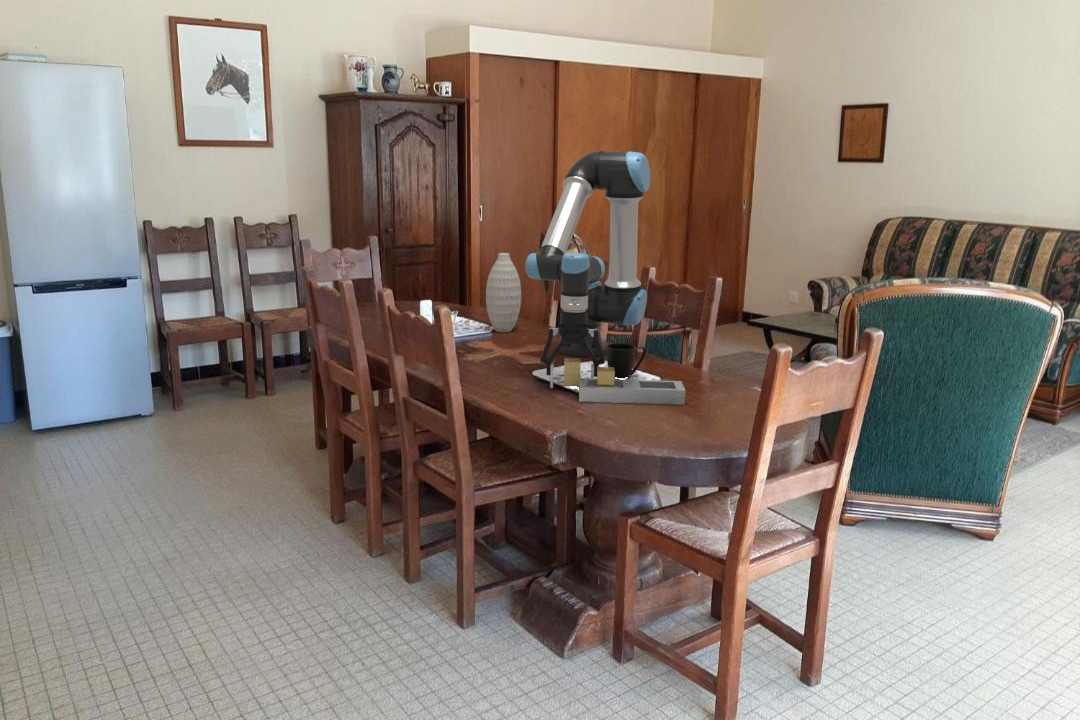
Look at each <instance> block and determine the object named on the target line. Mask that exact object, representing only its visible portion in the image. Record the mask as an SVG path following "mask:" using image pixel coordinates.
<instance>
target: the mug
mask: <svg viewBox="0 0 1080 720" xmlns="http://www.w3.org/2000/svg"><path fill="white" fill-rule="evenodd" d="M639 350H642V354H641V356H640V358H639V360H638V361H637V363H636V365H635V366H634V364H635V358H636V357H635V356H636V351H639ZM646 354H647V348H646V347H644V346H635V345H632V344H630V343H626V342H625V343H622V342H617V343H616V342H614V343H610V344H609V343H608V344H607V346H606V362H607V363H606V364H607V367H613V368H614V370H615V377H617V378H625V377H629V376H630V377H631V376H632V375H634V374H635V372H636V371H637V370H638V368H639V366H640V365H641V364H642V363H643V360H644V358H645V357H646ZM630 377H629V378H630Z"/></svg>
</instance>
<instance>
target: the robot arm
mask: <svg viewBox="0 0 1080 720" xmlns="http://www.w3.org/2000/svg"><path fill="white" fill-rule="evenodd" d="M650 185H651V169H650V164H649V161H648V159H647V157H646V155H645V154H643V153H642V152H635V151H603V150H597V151H592V152H588V153H586V154H585V155H583V156H582V157H581V158H580V159H578V160H577V161H576V162H574V164H573V165H572V166H571V167H570V169H568V171H567V173H566V174H565V177H564V180H563V181H562V188H563V190H562V194H561V196H560V199H559V201H558V204H557V206H556V209H555V211H554V214H553V216H552V219H551V221H550V224H549V226H548V229H547V231H546V234H545V236H544V239H543V241H542V245H541V247H540V249H539V251H538V252H535V253H533V252H531V253H529V255H528V256H527V258H526V260H525V266H524V267H525V273H526V275H527V277H528V278H529V279H533V280H536V281H537V280H538V281H550V282H551V281H552V282H553V281H554V282H560V285H561V287H560V289H561V290H560V308H561V310H560V315H559V316H560V317H559V318H560V319H559V327H558V328H557V327H552V326H550V327H549V328H548V337H547V340H546V342H545V345H544V347H543V349H542V353H541V355H540V363H544V364H545V365H546V373H545V374H546V376H550V381H549V382H550V383H549V384H550V385H549V388H550V389H553V388H554V368H555V367H554V366H555V365H554V362H553V361H554V359H555V358H556V357H557V355H558V354H559V353H560V354H563V355H565V356H566V355H568V356H573V357H574V356H575V357H588V358H589V359H590V360H591V362H592V363H590V379H595V378H597V367H600V365H604V364H605V362H606V360H605V356H604V350H605V347H604V346H605V345H604V342H603V338H602V334H601V331H600V323H606V324H612V325H614V324H615V325H622V326H637V325H639V323H640V322H641V321H642V319H643V317H644V315H645V312H646V308H647V304H648V303H647V302H648V294H647V291H646V290H645V289H643V288H642V282H641V281H640V280H639V279H638V277H637V274H638V273H637V271H638V234H639V233H638V227H639V226H638V225H639V203H640V201H642V199H643V198H644V193H645V192H648V191H649V189H650ZM597 190H599V191H605V198H606V200H608V201H609V204H610V205H609V206H610V207H609V208H610V214H609V216H610V217H609V220H610V222H609V223H610V224H609V228H610V230H609V278H607V280H606V281H605V282H604V286H602V282H601V281H600V280H601V279H602V278H603V277H604V275H605V271H606V267H605V264H604V261H603V260H602V259H601V258H600V257H598V256H597V255H588V254H587V253H583V252H582V253H581V252H571V253H568V252H567V251H568V248H569V245H570V243H571V241H572V238H573V235H574V233H575V231H576V227H577V225H578V222H579V220H580V217H581V214H582V211H583V210H584V207H585V204H586V202H587V199H590V197H592V195H593V193H594V191H597ZM557 334H559V335H560V338H559V340H558V343H557V345H556V346H555V347H554V349H553V350H552V352H551V353H550V354H549V357H548V358H547V356H548V353H549V350H550V347H551V345H552V342H553V339H554V337H555V336H556V335H557ZM596 356H598V359H597V358H596Z"/></svg>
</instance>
